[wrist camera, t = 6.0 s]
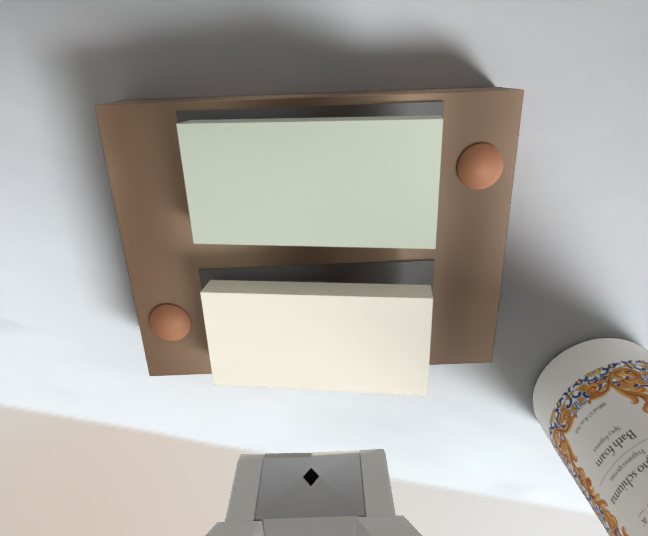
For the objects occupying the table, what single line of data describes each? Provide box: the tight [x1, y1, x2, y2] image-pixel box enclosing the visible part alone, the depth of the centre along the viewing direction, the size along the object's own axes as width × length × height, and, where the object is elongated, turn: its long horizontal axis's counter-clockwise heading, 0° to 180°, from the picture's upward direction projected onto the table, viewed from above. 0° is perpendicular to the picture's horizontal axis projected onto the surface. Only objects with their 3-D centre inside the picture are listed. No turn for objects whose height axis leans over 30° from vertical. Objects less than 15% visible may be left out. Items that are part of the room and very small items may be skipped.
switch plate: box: [94, 87, 524, 376], centre depth 21 cm, size 16×12×4 cm
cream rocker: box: [200, 280, 433, 396], centre depth 20 cm, size 9×4×1 cm, turn 92°
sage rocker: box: [176, 115, 443, 249], centre depth 17 cm, size 9×4×1 cm, turn 92°
